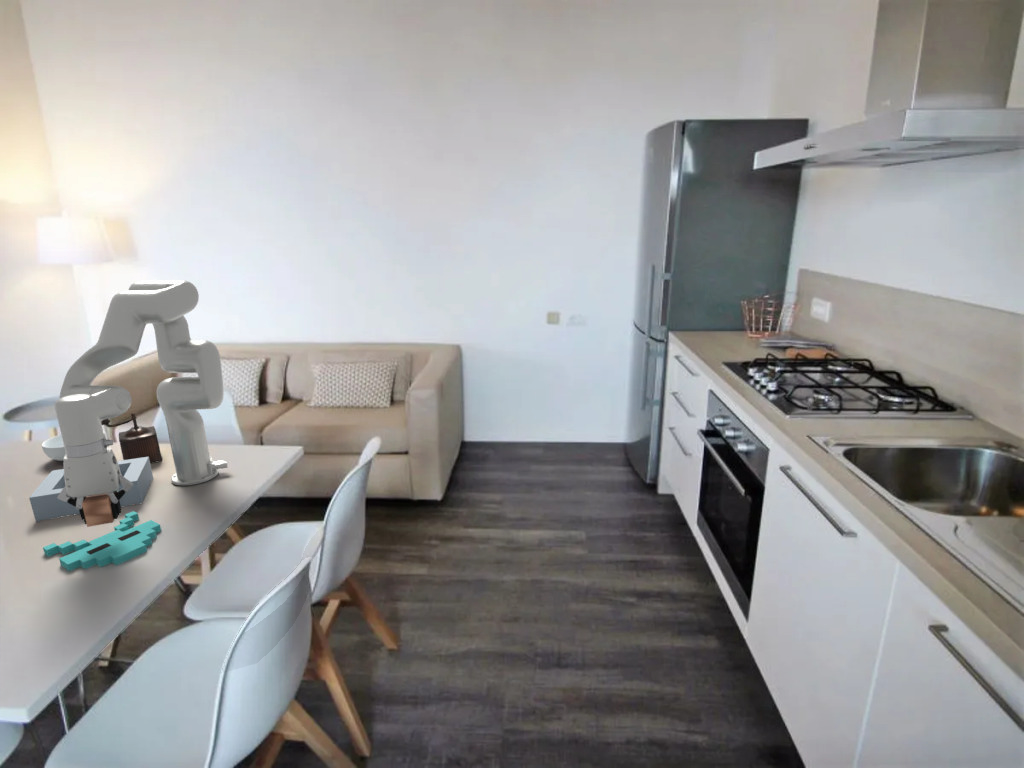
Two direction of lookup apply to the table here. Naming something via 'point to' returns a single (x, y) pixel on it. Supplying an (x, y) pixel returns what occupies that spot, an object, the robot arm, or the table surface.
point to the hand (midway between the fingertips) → (102, 518)
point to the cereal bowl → (55, 448)
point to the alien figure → (108, 545)
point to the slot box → (52, 507)
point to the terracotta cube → (97, 510)
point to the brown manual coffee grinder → (137, 441)
